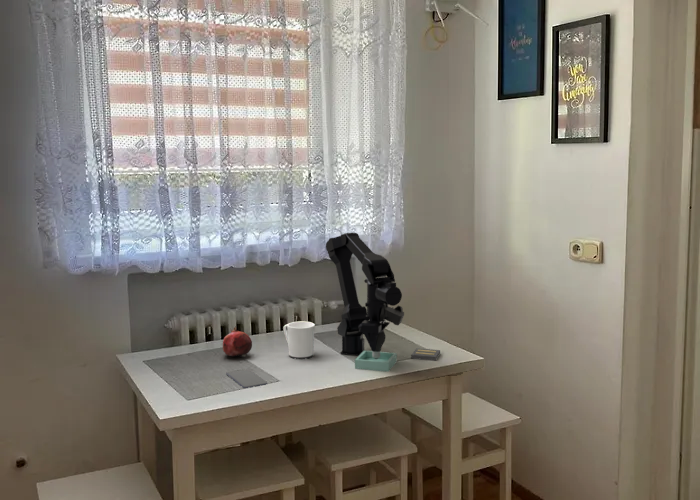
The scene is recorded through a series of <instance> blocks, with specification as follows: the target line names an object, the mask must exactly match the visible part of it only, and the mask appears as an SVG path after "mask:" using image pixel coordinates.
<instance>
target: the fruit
mask: <svg viewBox="0 0 700 500" xmlns="http://www.w3.org/2000/svg"><path fill="white" fill-rule="evenodd" d="M230 331H231V332H230V333H228V334H227V335H225V336H224V337H223V341H222V350H223V352H224V354H226V355H227V356H229V357H245V358H247V355H248V354H249V353H250V352H251V350H252V347H253V341H252V339H251V337H250V336H249V334H247V333H245V332H244V331H239V330H238V329H237V325H234V327H233V329H230Z"/></svg>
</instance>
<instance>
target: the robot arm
mask: <svg viewBox="0 0 700 500" xmlns="http://www.w3.org/2000/svg"><path fill="white" fill-rule="evenodd" d="M325 249H326V252H327V255H328V258H329V259H330V260H331V262H333V263H334V265H335V268H336V272H337V277H338V282H339V286H340V292H341V296H342V302H343V306H344V307H343V309H342V312H341V316H340V317H341V321H340V323H339V324H338V326H337V334H338V336H339V335H340V336H341V342H342V343H341V349H342V350H341V351H340V355H351V356H359V355H360V354H361V353H362V352H363V351H364V350H365V340H366V341H367V343H368V346H369V347H370V351H375V350H376V345H377V339H378V334H380V333H381V332H382V331H384V332H385V329H386V328H387V327H388V326H389V325H390V324H391V323H392V324H393V325H395V326H399V325H401V323H402V321H403V319H404V316H405V311H403V306H401V305H398V304H399V303H401V300H402V297H403V294H402V291H401V289H400V288H399V287H397V282H396V280H395V274H394V272H393V270H392V267H391V265H390V263H389V261H388V259H387V258H385V257H384V256H383V255H381V254H377V253H374V252H373V251H372V250H371V248H370V247H369V246H368V245H367V244H366V243H365V242H364V241H363V239H361V238H360V235H359V233H358V232H345V233H342V234H341V235H339V236H336V237H330V238H329V239H328V240H327V241H326V243H325ZM353 255H354V257H356V259H357V260H358V261H359V263H361V271H362V272H363V274H364V275H365V277H366V278H365V279H364V280H363V282H364V283H366V291H367V292H366V302H365V304H364V305H365V306H362V304H360V301H359V297H358V294H357V293H358V292H357V288H356V284H355V278H354V274H353V270H352V265H351V259H352V256H353ZM393 306H396V307H395V308H394V307H393ZM381 329H382V330H381ZM364 337H365V338H364Z"/></svg>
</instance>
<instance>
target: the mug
mask: <svg viewBox="0 0 700 500" xmlns="http://www.w3.org/2000/svg"><path fill="white" fill-rule="evenodd" d="M315 326H316V324H315V323H313V322H311V321H303V320H302V321H300V320H299V321H293V322H289V323H287V324H285V325H284V326H283V328H282V329H283V334H284V337H285V339H286V342H287V345H288V346H287V347H288V356H289V358H290V359H294V358H296V359H295V360H305V358H307V359H311V358H313V357H314V354H315V353H314V351H315V350H314V349H315V346H314V345H315V342H314V341H315V328H316V327H315ZM310 357H311V358H310Z"/></svg>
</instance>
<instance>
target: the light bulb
mask: <svg viewBox="0 0 700 500" xmlns="http://www.w3.org/2000/svg"><path fill="white" fill-rule="evenodd" d="M381 330H382V329H381ZM385 341H386V333H385V330H384V331H382V332H381V333H380V334H378V339H377V345H376V350H375V351H372V350H371V351H372V355H373V356H372V357H373V358H375V359H378V358H379V357H380V352H382V347H383V345H384V344H385Z"/></svg>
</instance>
